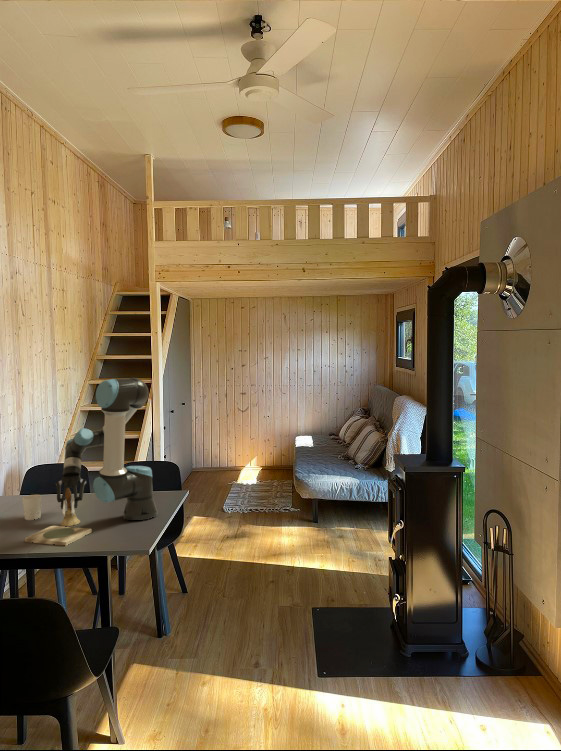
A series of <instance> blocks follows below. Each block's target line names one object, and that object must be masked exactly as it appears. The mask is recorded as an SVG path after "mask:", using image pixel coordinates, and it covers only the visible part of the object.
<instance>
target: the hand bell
mask: <svg viewBox="0 0 561 751" xmlns="http://www.w3.org/2000/svg"><path fill="white" fill-rule="evenodd" d="M65 497H66V499H65V500H66V513H65V517H63V519H62V521H61V522H60V525H59V526H64V527H65V526H67V527H74V526H77V525H79V524H80V523H81V520H80V519H78V517H77V514H76V510H75V511H74V516H72V513H71V512H72V491H71V490H70V488H67V489H66V493H65ZM73 525H74V526H73Z"/></svg>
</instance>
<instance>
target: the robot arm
mask: <svg viewBox="0 0 561 751" xmlns="http://www.w3.org/2000/svg"><path fill="white" fill-rule="evenodd" d="M149 392H150V391H149V388H148V386H147V384H146V383H145V382H144V381H143V380H141V378H138V377H129V378H128V377H127V378H125V377H124V378H111V379H106V380H105V379H104V380H103V381H100V383H99V384H98V386H97V387H96V390H95V401H96V403H97V404H96V405H97V406H99V408H101V410H100V411H101V412H103V413H104V426H102V428H101V429H97V430H90V429H88V428H86V427H85V428H84V427H83V428H80V429H79V430H78V431H77V432H76V433H75V434H74V435H73V436H74V437H73V438H70V439H69V440H67V441H66V443H65V448H64V450H65V451H64V461H63V470H62V478H61V479H60V480H59V481H58V480H56V481H55V485H56V500H57V503H60V510H62V516H63V518H64V517H65V513H66V511H67V501H66V497H65V493H66V489H67V488H72V489H73V490H72V491H73V498H74V499H71V509H72V512H71V513H72V516H74V511H75V512H76V510H75V509H77V508H78V503H79V501H83V495H84V491H85V486H86V484H87V479H86V478H82V477H81V470H82V458H83V453H84V452H85V451H86V449H88V448H94V447H95V448H96V447H100V446H103V460H102V462H103V464H102V468H101V469H99V473H98V474H99V476H97V477H95V479H94V480H93V491H94V494H95V495H96V498H97V499H98V500H99V501H100V502H102V503H104V504H106V503H114V502H116V501H119V500H123V499H126V504H125V507H124V510H123V519H124V518H125V519H127V520H126V521H128V520H143V519H148V518H151V517H154V516H156V515H157V514H158V508H157V506H156V505H157V504H156V502H155V500H154V491H153V490H154V488H153V477H154V476H153V470H152V468H151V467H149V466H144V465H129V466H126V467H125V464H124V462H125V445H126V444H125V441H126V440H125V438H126V424H127V423H128V422H129V420H130V419H132V417H133V416H134V414H135V413H136V412H137V410H139V409H142V408H143V407H144V405H145V404H146V403H147V401H148V399H149ZM79 484H80V488H79V493H78V490H77V487H78V485H79ZM62 485H63V486H64V487H63V488H64V489H63V492H62V490H61V489H62V488H61V487H62ZM61 492H62V494H61ZM157 516H158V515H157ZM157 516H156V517H157ZM154 518H155V517H154ZM125 519H124V520H125ZM148 520H149V519H148ZM143 521H144V520H143Z"/></svg>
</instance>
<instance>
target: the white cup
mask: <svg viewBox="0 0 561 751" xmlns="http://www.w3.org/2000/svg"><path fill="white" fill-rule="evenodd" d="M22 508H23V515H24V520H25V519H26V520H25V521H35V520H39V519H41V517H42V514H41V513H42V512H41V511H42V495H41V494H30V495H26V496H25V495H24V496H23V497H22ZM38 518H39V519H38ZM34 519H35V520H34Z"/></svg>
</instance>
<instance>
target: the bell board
mask: <svg viewBox="0 0 561 751" xmlns="http://www.w3.org/2000/svg"><path fill="white" fill-rule="evenodd" d="M92 532H93V530H92V528H87V527H75V526H67V527H65V526H61V525H50V526H47V527H46V528H43V529H42V530H39V531H37V532H35V533H33V534H30V535H28V536H27V537H25V538H24V542H25V543H32V542H33V544H34V543H35V544H42V545H43V544H45V545H53V544H55V546H63V545H65V547H66V546H68V544H69V545H70V543H71V544H73V543H74V542H76V541H78V540H80V539H82V538H83V537H86V536H88V535H89V534H91V533H92ZM85 535H86V536H85ZM72 542H73V543H72Z"/></svg>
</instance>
